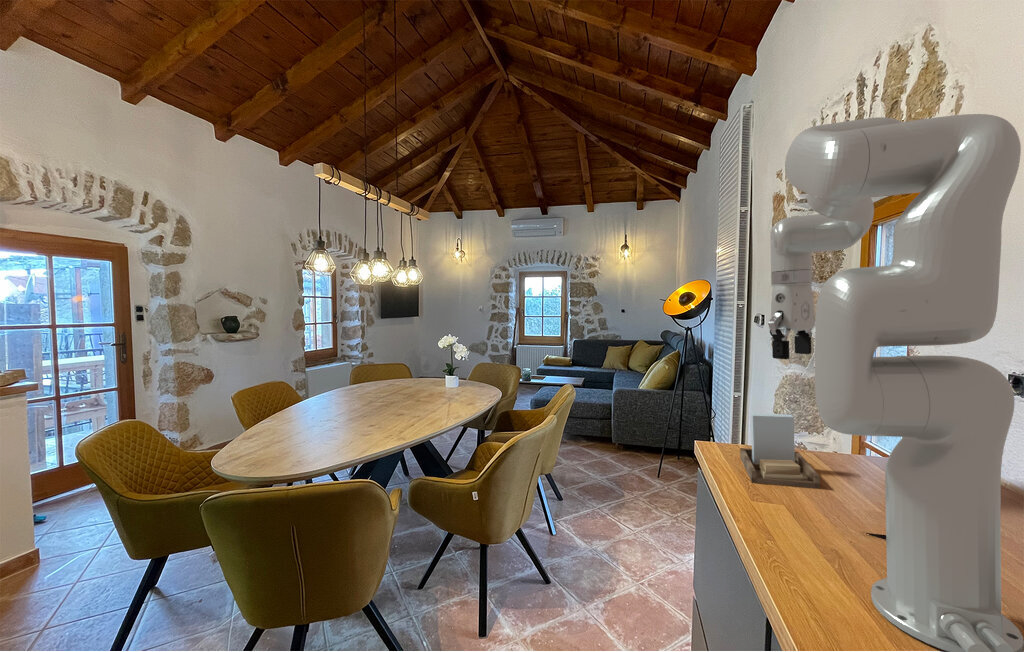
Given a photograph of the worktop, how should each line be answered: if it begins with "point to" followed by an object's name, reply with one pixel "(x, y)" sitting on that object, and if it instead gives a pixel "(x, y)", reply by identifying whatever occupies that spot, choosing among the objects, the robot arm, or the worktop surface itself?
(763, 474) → the offcut low
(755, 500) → the worktop surface
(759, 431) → the board
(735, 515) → the worktop surface
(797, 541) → the worktop surface
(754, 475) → the rack
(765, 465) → the offcut top
